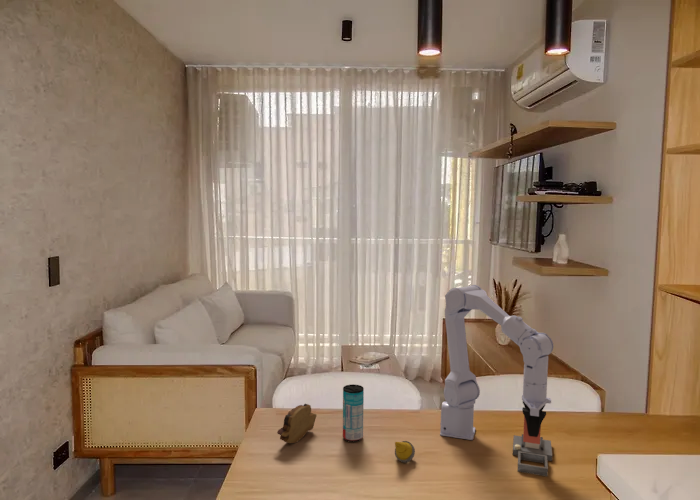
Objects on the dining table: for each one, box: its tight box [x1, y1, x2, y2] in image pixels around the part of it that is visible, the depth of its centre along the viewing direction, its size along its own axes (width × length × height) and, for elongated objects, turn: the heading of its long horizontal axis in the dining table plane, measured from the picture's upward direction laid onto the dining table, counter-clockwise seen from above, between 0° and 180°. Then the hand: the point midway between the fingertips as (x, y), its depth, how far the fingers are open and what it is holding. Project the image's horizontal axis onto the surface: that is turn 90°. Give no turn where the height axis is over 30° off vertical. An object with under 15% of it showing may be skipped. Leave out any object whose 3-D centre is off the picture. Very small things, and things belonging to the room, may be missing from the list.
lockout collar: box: [517, 451, 549, 477], centre depth 134 cm, size 7×7×2 cm
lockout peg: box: [522, 415, 542, 444], centre depth 133 cm, size 4×4×7 cm
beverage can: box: [342, 384, 365, 443], centre depth 148 cm, size 6×6×15 cm
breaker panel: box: [512, 433, 553, 462], centre depth 143 cm, size 10×9×2 cm
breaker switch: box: [525, 442, 540, 449], centre depth 142 cm, size 4×3×3 cm
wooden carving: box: [277, 403, 317, 444], centre depth 148 cm, size 16×5×10 cm, turn 155°
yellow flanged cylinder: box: [394, 440, 416, 463], centre depth 136 cm, size 5×5×10 cm
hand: (532, 432), depth 133 cm, fingers closed on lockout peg, 4 cm apart
